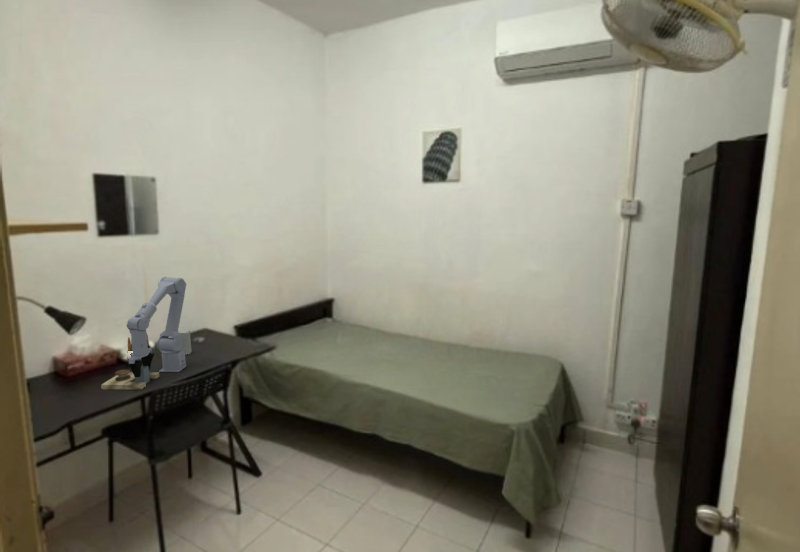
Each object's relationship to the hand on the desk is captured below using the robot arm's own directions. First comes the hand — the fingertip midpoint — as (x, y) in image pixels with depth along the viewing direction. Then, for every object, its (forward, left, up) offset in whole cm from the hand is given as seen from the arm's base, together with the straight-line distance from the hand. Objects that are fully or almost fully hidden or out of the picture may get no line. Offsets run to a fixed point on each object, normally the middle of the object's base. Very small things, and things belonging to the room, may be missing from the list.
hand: (142, 373), depth 189 cm
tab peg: (0, 0, -4) cm, 4 cm away
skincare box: (0, -38, -5) cm, 38 cm away
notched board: (+5, 0, -4) cm, 7 cm away
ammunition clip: (+20, -32, -5) cm, 38 cm away
